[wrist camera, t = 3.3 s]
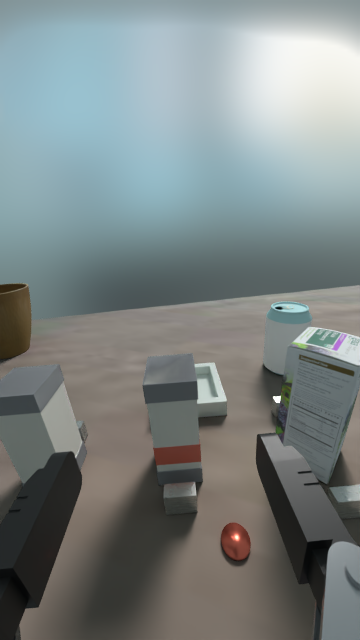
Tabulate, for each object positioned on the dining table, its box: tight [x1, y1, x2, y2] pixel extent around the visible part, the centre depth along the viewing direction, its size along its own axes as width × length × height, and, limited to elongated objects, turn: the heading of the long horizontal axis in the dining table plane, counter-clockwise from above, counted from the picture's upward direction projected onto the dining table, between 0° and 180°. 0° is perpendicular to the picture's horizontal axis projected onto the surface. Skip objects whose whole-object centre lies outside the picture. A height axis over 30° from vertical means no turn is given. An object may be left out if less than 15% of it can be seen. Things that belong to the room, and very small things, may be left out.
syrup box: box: [276, 327, 360, 484], centre depth 24 cm, size 6×6×14 cm
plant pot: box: [0, 283, 31, 359], centre depth 54 cm, size 15×15×16 cm
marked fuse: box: [143, 353, 203, 485], centre depth 24 cm, size 5×5×13 cm
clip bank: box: [76, 396, 360, 561], centre depth 25 cm, size 32×15×2 cm, turn 92°
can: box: [263, 302, 312, 375], centre depth 40 cm, size 7×7×12 cm
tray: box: [194, 363, 227, 417], centre depth 36 cm, size 10×10×2 cm
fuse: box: [0, 364, 87, 487], centre depth 24 cm, size 5×5×13 cm
